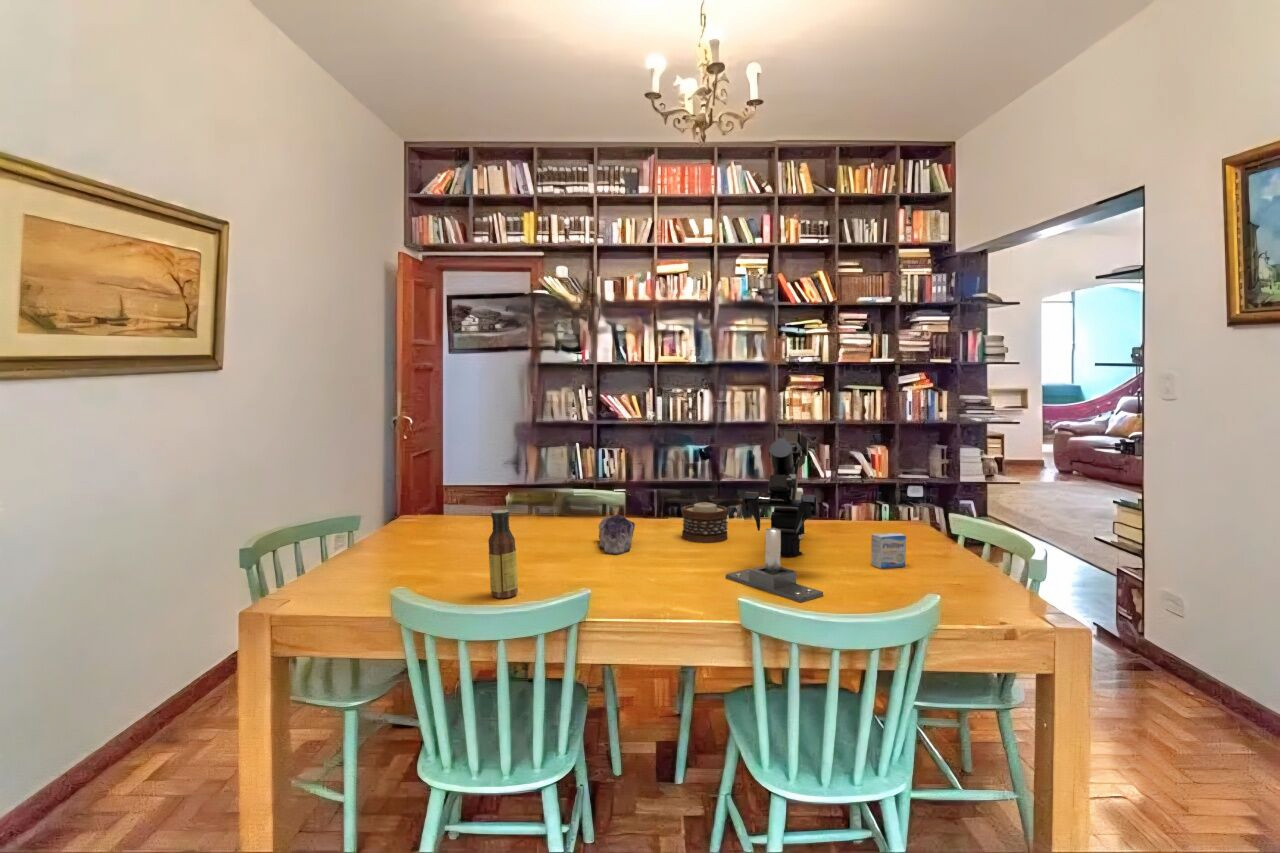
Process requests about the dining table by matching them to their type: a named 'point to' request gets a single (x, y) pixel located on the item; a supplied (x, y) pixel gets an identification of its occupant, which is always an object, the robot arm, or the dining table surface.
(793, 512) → the robot arm
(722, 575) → the dining table surface
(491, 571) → the sauce bottle
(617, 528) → the geode
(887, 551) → the medicine box
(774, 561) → the pin
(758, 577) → the grey socket base plate
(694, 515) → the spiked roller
